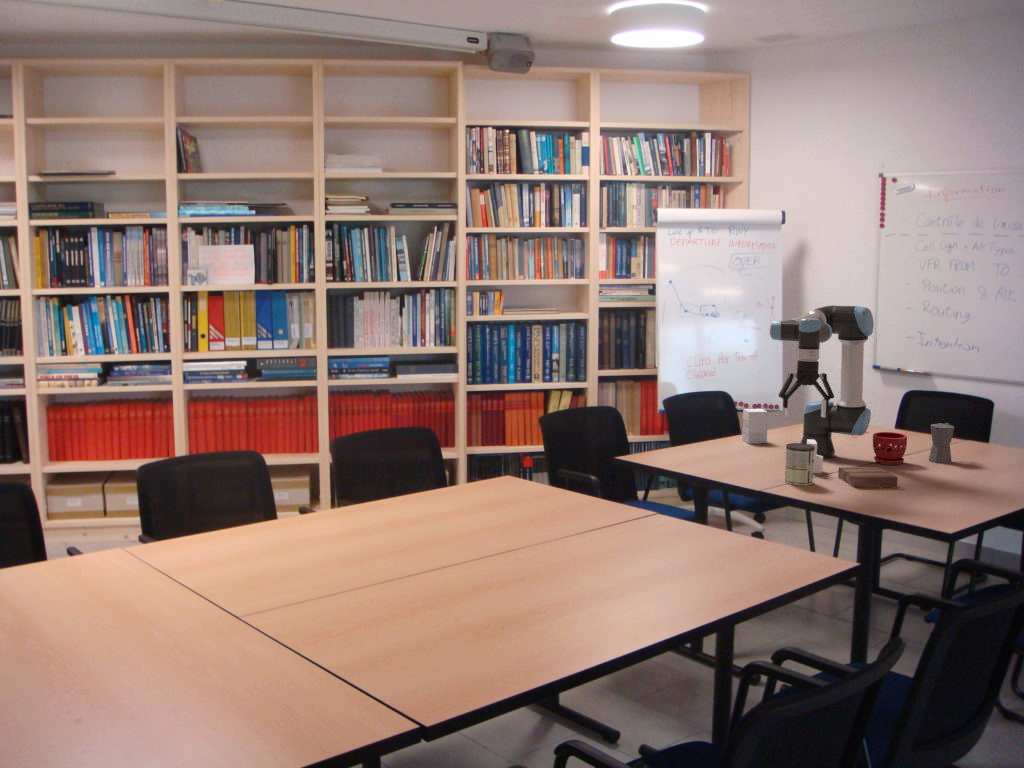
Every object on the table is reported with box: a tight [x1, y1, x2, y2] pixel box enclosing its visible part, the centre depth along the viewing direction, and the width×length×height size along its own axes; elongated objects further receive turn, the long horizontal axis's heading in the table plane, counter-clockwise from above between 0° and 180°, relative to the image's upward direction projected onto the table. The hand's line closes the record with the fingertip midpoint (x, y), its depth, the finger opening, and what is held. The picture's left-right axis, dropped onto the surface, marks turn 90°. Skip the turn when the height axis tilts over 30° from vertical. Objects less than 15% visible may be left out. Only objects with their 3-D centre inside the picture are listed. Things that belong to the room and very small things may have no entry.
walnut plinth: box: [837, 466, 899, 488], centre depth 353 cm, size 16×16×4 cm
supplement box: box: [741, 408, 769, 445], centre depth 429 cm, size 9×9×15 cm
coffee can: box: [784, 442, 815, 486], centre depth 351 cm, size 10×10×14 cm
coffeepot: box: [928, 418, 955, 464], centre depth 391 cm, size 15×9×18 cm, turn 137°
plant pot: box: [872, 431, 908, 466], centre depth 387 cm, size 13×13×12 cm
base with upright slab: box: [807, 439, 824, 474], centre depth 370 cm, size 9×9×12 cm
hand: (805, 416), depth 349 cm, fingers open, 13 cm apart
